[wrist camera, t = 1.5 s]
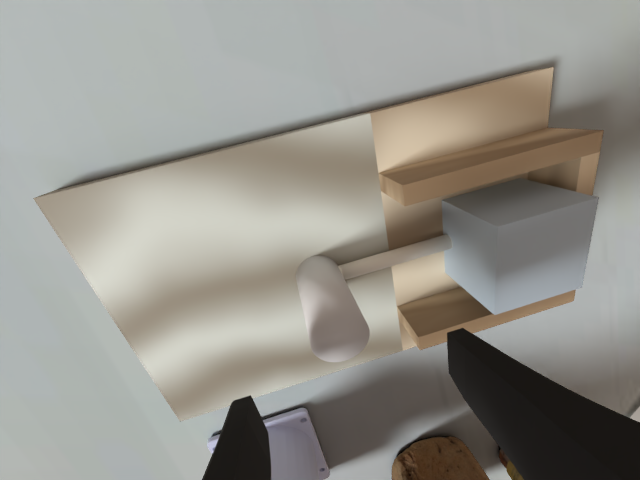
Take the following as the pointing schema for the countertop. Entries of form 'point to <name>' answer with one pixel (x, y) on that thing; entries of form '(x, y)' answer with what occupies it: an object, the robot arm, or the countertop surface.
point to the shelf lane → (307, 235)
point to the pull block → (465, 259)
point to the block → (437, 461)
